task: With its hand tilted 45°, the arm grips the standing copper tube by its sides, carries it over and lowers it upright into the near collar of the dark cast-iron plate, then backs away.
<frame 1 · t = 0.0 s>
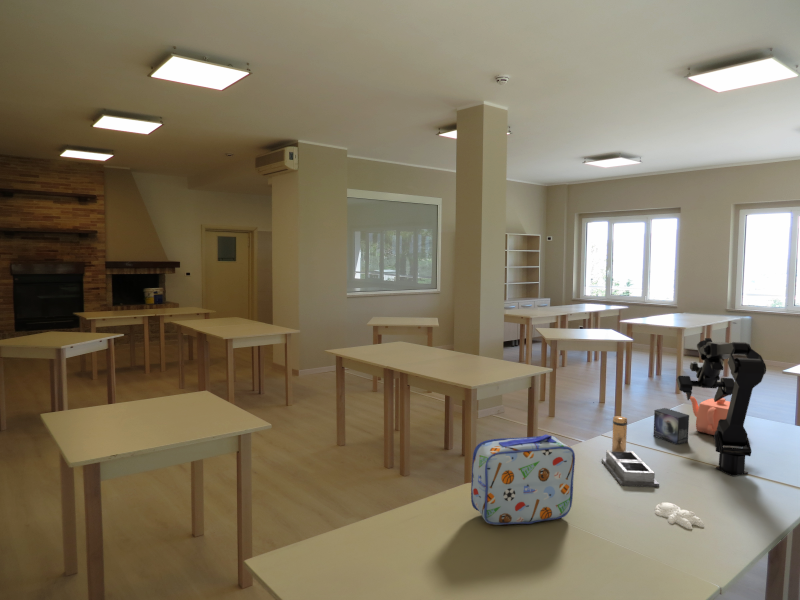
hand: (701, 400, 196), 15 cm above the table, tool tilted 35°, fingers open, 9 cm apart
astronaut figurine: (677, 519, 137), on the table
cast-iron collar plate: (628, 473, 165), on the table
small box: (670, 439, 196), on the table
teapot: (710, 431, 206), on the table
lunch box: (523, 517, 137), on the table
copper tube: (618, 454, 180), on the table
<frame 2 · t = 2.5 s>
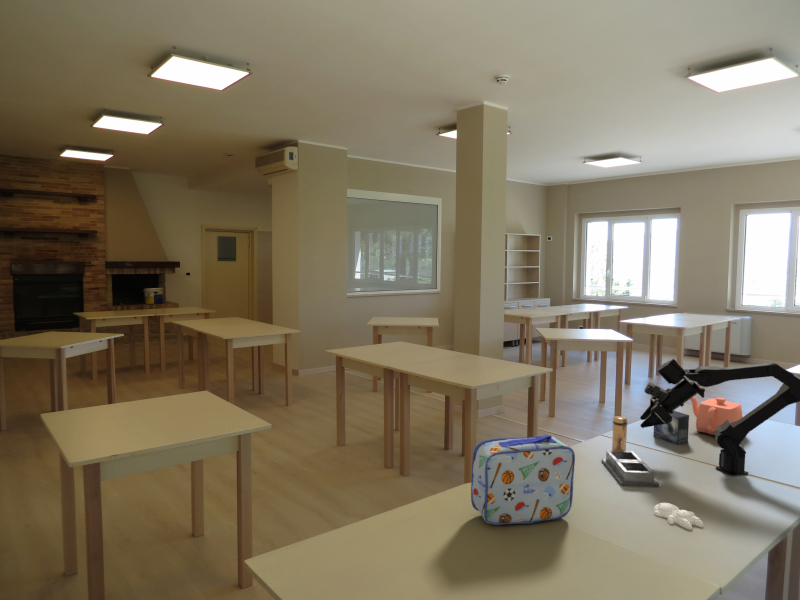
hand: (641, 422, 177), 12 cm above the table, tool tilted 45°, fingers open, 9 cm apart
nothing on the table moved.
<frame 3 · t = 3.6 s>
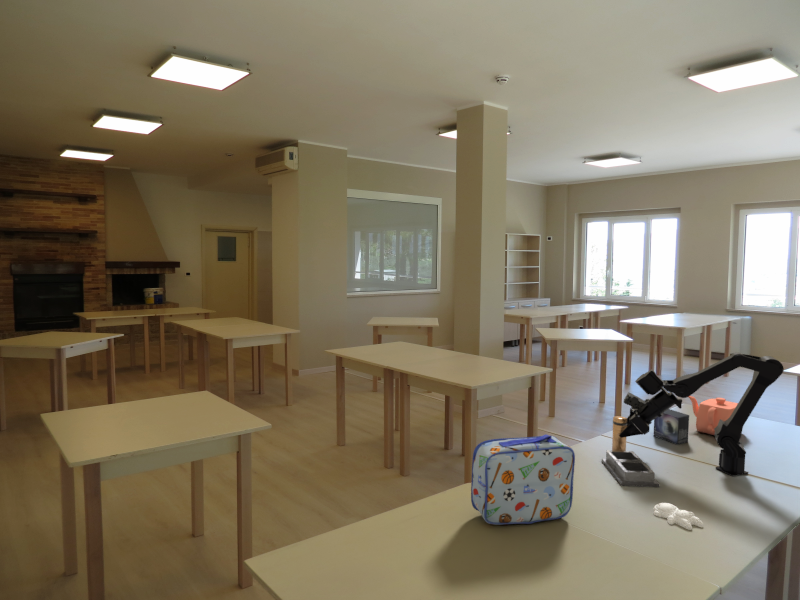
hand: (620, 432, 180), 8 cm above the table, tool tilted 45°, fingers open, 9 cm apart
nothing on the table moved.
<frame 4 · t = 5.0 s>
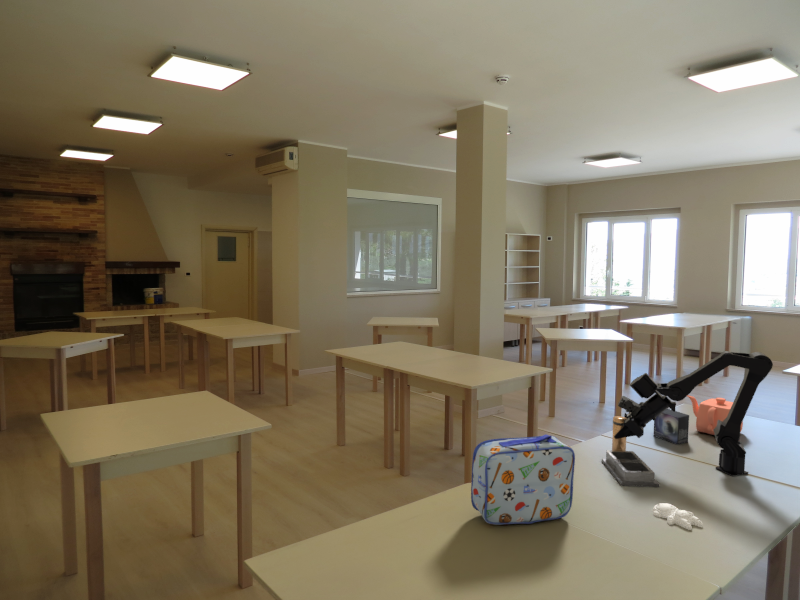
hand: (615, 435, 180), 7 cm above the table, tool tilted 45°, fingers closed on copper tube, 4 cm apart
copper tube: (618, 454, 180), on the table, touching gripper
everything else where it was.
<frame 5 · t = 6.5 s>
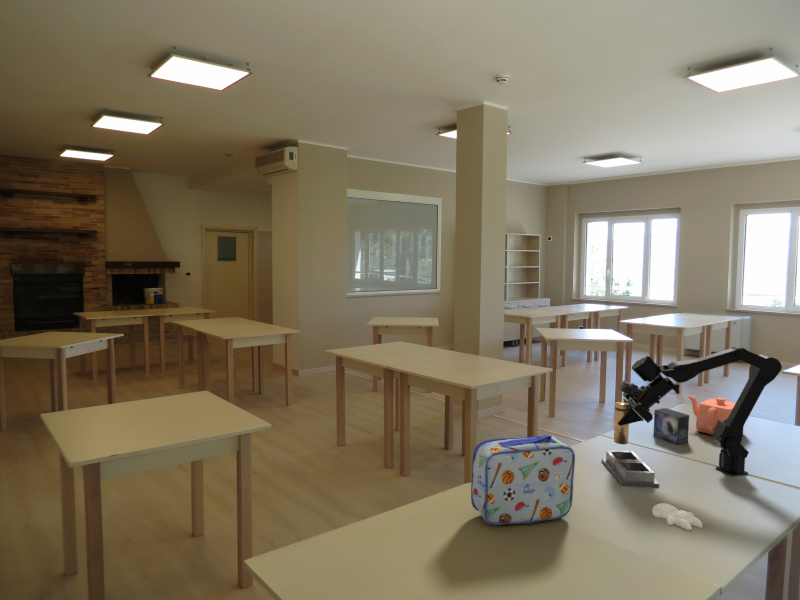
hand: (617, 422, 173), 13 cm above the table, tool tilted 45°, fingers closed on copper tube, 4 cm apart
copper tube: (620, 442, 173), point 7 cm above the table, touching gripper
everything else where it was.
when the fingers open (9 cm above the table, at t = 8.2 s): copper tube drops 1 cm, resting on cast-iron collar plate.
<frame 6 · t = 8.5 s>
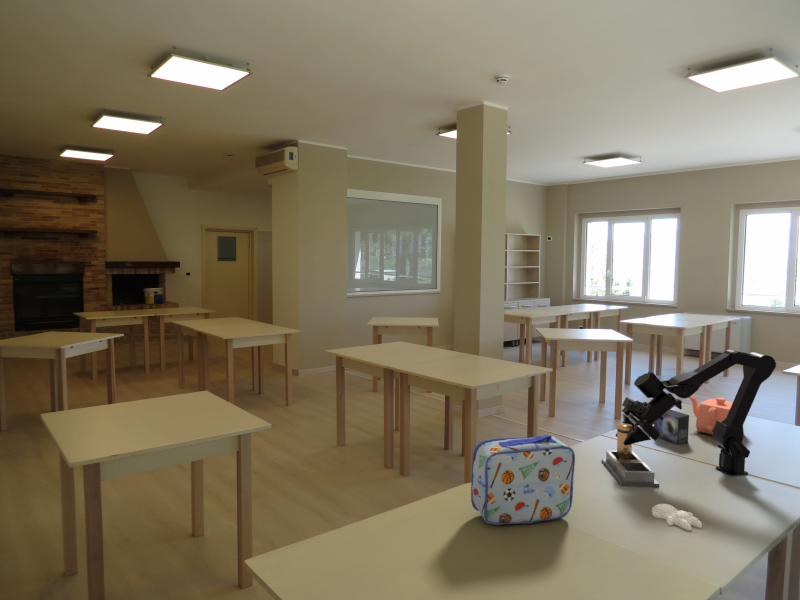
hand: (620, 440, 169), 9 cm above the table, tool tilted 45°, fingers open, 7 cm apart
copper tube: (624, 464, 169), point 1 cm above the table, touching cast-iron collar plate
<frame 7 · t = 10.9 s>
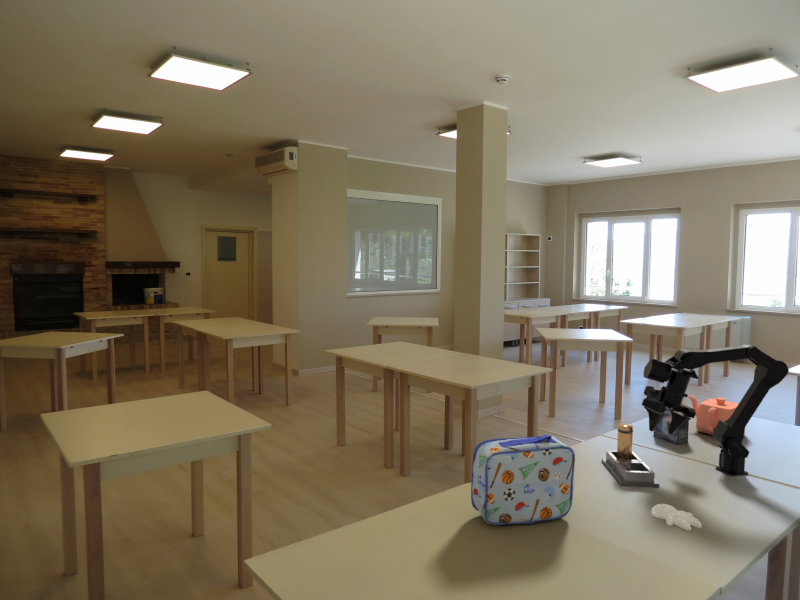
hand: (660, 432, 169), 12 cm above the table, tool tilted 15°, fingers open, 9 cm apart
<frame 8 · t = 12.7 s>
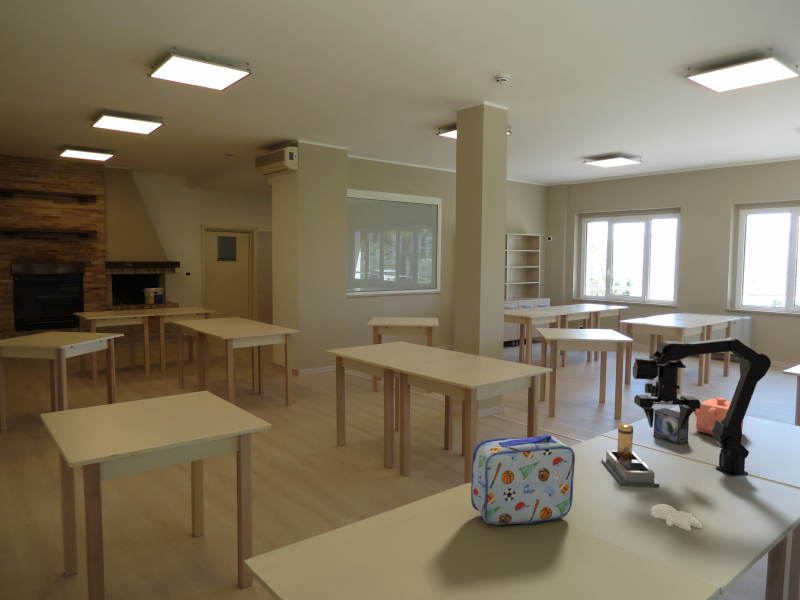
hand: (665, 427, 169), 13 cm above the table, tool pointing down, fingers open, 9 cm apart
at the end: copper tube 0.0 cm from the target spot, point 1.0 cm above the table; copper tube tilted 1°; the gripper is holding nothing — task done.
